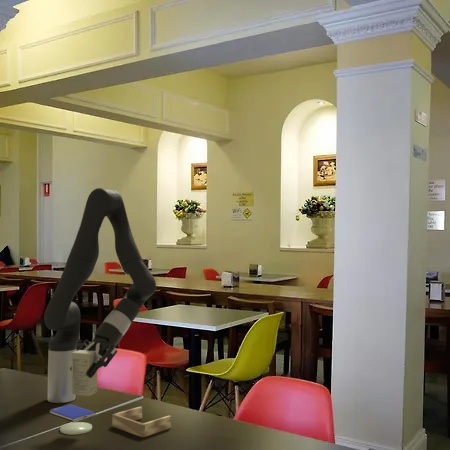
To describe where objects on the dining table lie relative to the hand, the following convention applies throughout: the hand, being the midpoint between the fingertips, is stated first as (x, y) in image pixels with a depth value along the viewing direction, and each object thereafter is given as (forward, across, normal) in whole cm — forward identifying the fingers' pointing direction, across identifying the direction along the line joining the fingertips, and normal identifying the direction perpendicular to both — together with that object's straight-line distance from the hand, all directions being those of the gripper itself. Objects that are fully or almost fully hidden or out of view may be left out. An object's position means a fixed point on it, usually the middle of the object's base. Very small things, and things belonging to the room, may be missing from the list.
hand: (80, 373), depth 162 cm
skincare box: (+3, 0, +5) cm, 6 cm away
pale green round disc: (+12, -1, +11) cm, 16 cm away
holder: (+1, +12, +21) cm, 24 cm away
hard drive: (+7, -14, +17) cm, 23 cm away
